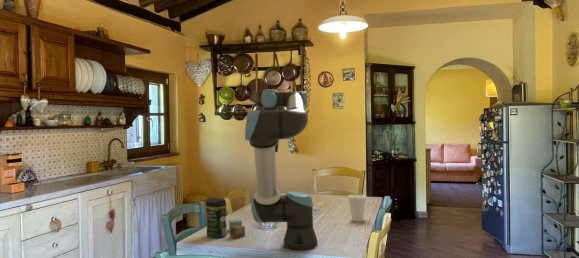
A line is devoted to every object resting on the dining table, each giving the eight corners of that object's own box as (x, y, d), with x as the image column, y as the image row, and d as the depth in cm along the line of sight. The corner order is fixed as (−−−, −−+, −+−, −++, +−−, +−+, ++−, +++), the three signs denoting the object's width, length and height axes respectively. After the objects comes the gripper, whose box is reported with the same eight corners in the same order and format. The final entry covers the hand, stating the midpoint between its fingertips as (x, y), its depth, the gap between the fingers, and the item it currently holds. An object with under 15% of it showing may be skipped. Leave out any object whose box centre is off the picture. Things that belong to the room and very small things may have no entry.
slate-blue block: (241, 230, 203) (241, 221, 203) (232, 232, 200) (232, 222, 200) (238, 228, 207) (238, 219, 207) (229, 229, 205) (229, 220, 205)
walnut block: (244, 236, 192) (244, 226, 192) (237, 239, 188) (237, 228, 188) (237, 234, 195) (237, 224, 195) (230, 237, 192) (229, 227, 191)
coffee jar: (203, 236, 194) (202, 198, 193) (215, 232, 200) (214, 195, 200) (218, 239, 188) (217, 200, 188) (229, 235, 195) (228, 197, 194)
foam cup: (369, 219, 219) (369, 195, 218) (360, 222, 212) (359, 198, 212) (355, 216, 225) (354, 194, 225) (345, 220, 218) (345, 196, 218)
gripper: (257, 120, 206) (258, 165, 207) (271, 119, 196) (273, 167, 196) (269, 119, 211) (270, 164, 211) (284, 119, 200) (285, 166, 201)
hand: (271, 165), depth 204 cm, fingers closed
